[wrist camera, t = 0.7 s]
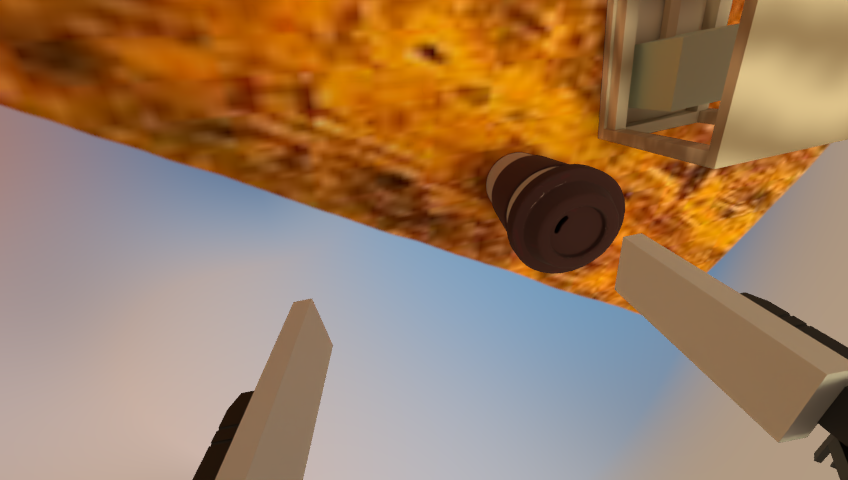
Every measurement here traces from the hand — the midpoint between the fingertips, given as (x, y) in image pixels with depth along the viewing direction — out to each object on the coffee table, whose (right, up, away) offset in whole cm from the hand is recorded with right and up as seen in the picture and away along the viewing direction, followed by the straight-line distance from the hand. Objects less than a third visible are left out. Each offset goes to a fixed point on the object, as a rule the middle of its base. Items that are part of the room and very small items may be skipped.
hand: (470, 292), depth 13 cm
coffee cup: (+9, +10, +25) cm, 28 cm away
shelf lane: (+23, +23, +19) cm, 37 cm away
